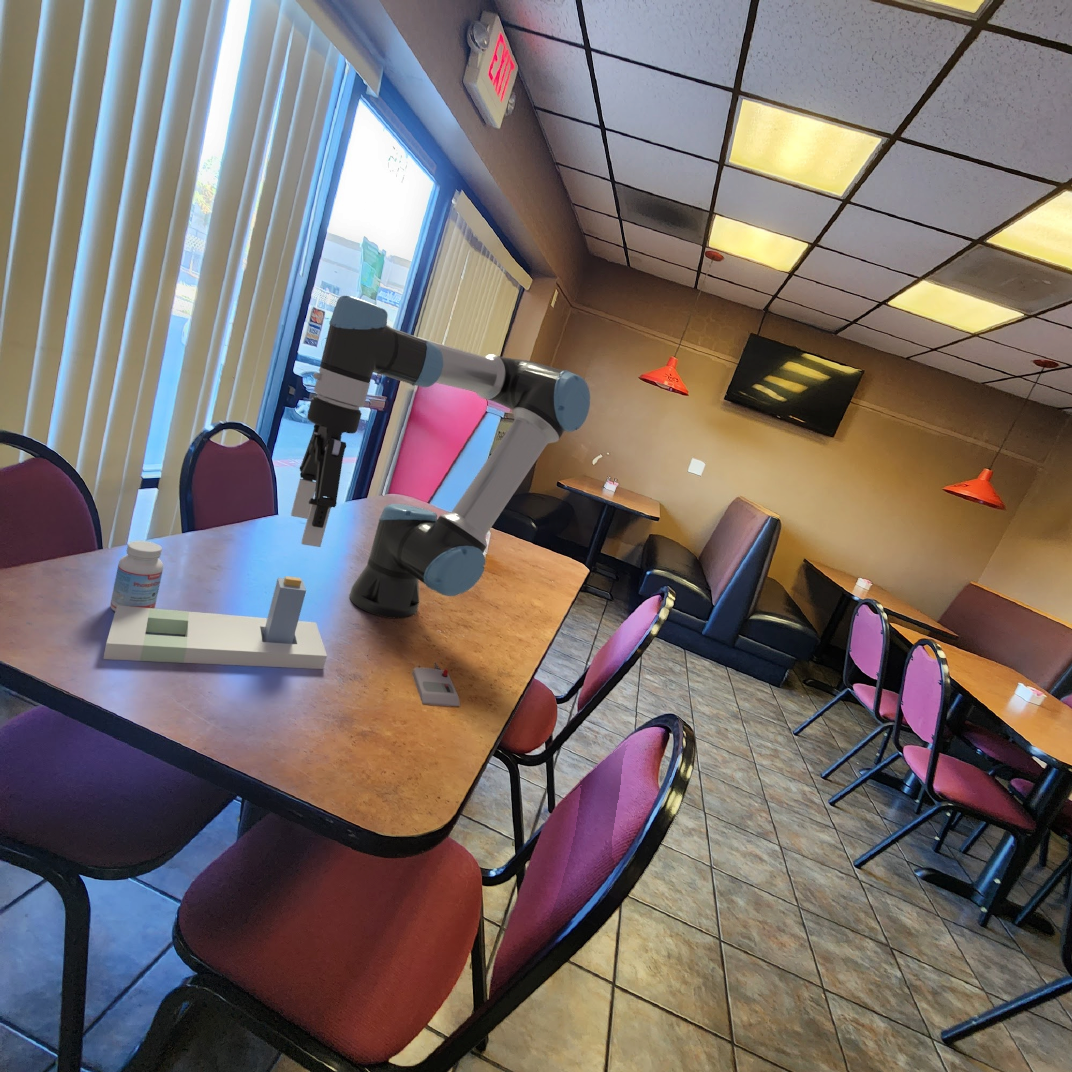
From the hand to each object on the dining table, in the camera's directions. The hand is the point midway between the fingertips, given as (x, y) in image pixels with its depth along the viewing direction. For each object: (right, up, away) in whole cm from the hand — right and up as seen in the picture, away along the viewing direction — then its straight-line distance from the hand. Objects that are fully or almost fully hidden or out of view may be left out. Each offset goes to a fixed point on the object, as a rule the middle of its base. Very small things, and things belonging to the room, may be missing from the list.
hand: (304, 530), depth 94 cm
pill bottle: (-29, -13, +2) cm, 32 cm away
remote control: (+19, -28, +10) cm, 36 cm away
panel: (-13, -19, 0) cm, 23 cm away
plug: (-7, -20, +4) cm, 22 cm away
